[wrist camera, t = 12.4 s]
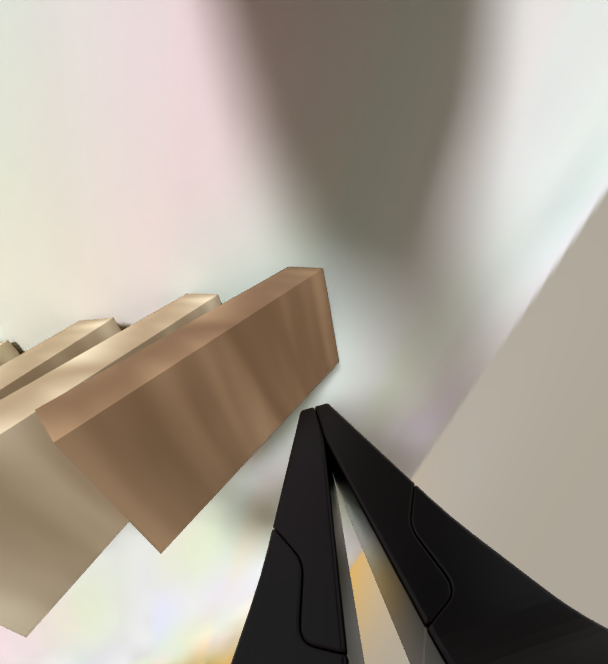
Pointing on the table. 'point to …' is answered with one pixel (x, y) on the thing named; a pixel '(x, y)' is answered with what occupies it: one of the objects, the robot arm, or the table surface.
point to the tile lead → (197, 401)
